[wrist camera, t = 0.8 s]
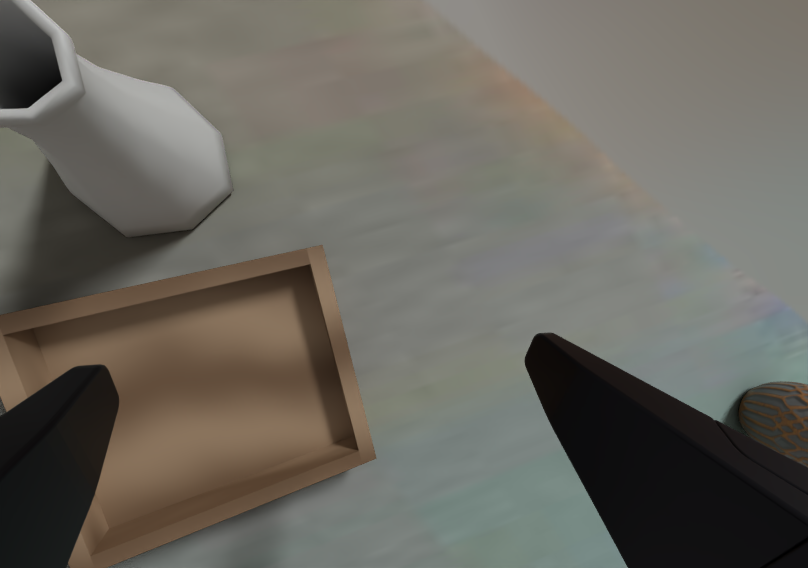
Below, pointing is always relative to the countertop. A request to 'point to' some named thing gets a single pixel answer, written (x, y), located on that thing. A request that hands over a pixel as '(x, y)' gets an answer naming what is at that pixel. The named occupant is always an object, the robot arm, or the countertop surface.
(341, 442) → the wooden tray
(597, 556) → the countertop surface
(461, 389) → the countertop surface
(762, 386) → the vase
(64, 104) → the flask
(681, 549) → the robot arm
